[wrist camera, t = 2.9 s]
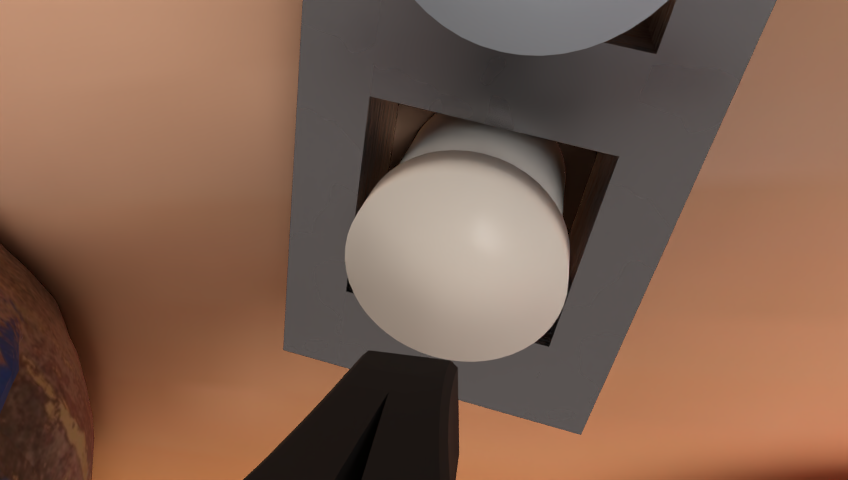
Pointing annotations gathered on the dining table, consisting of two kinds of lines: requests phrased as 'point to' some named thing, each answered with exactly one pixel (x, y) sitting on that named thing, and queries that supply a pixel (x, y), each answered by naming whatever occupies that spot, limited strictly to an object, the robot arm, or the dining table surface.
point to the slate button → (539, 22)
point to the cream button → (464, 242)
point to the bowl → (39, 385)
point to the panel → (525, 113)
